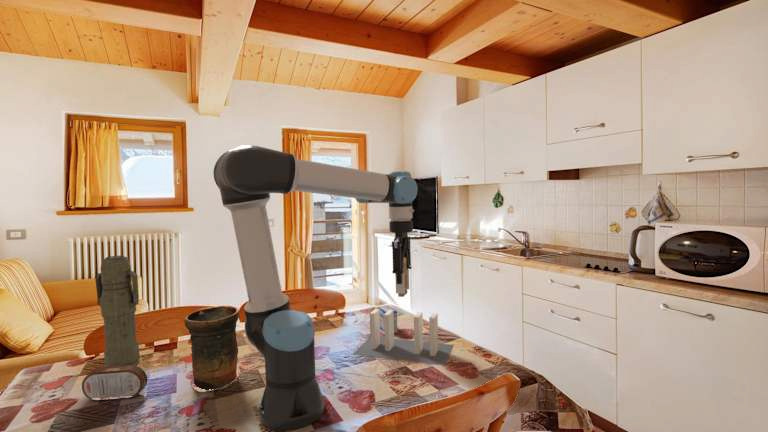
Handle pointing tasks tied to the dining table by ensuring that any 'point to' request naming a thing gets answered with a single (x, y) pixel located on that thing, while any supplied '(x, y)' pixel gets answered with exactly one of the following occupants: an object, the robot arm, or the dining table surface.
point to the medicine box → (382, 311)
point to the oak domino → (404, 277)
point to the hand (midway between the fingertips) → (402, 290)
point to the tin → (114, 382)
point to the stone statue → (118, 310)
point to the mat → (406, 351)
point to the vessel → (213, 346)
